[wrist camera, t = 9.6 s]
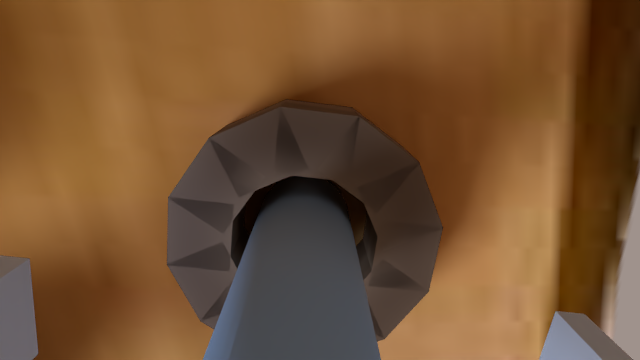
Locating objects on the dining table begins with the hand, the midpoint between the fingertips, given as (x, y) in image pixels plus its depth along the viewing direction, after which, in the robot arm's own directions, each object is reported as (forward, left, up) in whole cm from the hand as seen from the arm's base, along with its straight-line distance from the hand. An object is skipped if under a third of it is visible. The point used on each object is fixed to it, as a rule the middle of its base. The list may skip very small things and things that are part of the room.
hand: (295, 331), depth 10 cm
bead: (0, 0, -8) cm, 8 cm away
